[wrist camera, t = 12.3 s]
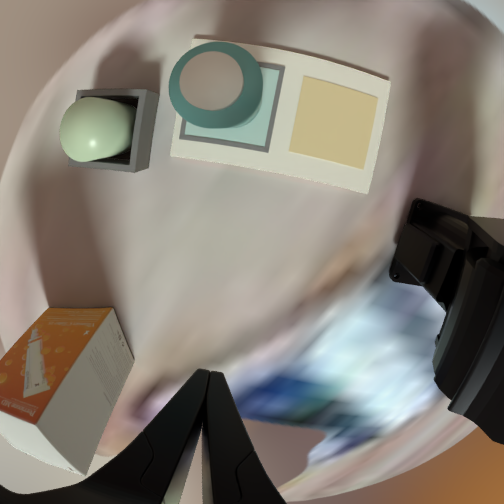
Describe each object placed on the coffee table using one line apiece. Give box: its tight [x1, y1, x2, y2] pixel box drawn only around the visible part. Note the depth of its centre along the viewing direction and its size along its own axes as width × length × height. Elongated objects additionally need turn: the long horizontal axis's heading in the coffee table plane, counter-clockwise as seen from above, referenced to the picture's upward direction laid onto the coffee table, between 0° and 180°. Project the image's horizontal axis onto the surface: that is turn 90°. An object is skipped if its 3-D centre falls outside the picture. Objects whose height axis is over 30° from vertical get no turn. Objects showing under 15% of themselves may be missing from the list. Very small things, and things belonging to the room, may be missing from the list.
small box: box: [0, 307, 134, 476], centre depth 18 cm, size 8×6×13 cm
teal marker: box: [169, 42, 263, 129], centre depth 12 cm, size 4×4×8 cm
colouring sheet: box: [170, 39, 391, 194], centre depth 17 cm, size 13×8×1 cm, turn 80°
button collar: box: [68, 89, 160, 173], centre depth 16 cm, size 5×5×2 cm
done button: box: [60, 97, 137, 162], centre depth 15 cm, size 4×4×4 cm
